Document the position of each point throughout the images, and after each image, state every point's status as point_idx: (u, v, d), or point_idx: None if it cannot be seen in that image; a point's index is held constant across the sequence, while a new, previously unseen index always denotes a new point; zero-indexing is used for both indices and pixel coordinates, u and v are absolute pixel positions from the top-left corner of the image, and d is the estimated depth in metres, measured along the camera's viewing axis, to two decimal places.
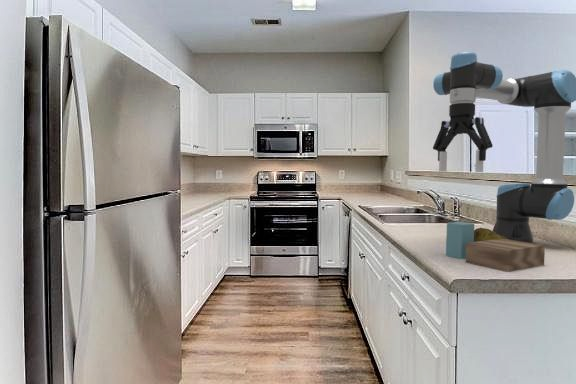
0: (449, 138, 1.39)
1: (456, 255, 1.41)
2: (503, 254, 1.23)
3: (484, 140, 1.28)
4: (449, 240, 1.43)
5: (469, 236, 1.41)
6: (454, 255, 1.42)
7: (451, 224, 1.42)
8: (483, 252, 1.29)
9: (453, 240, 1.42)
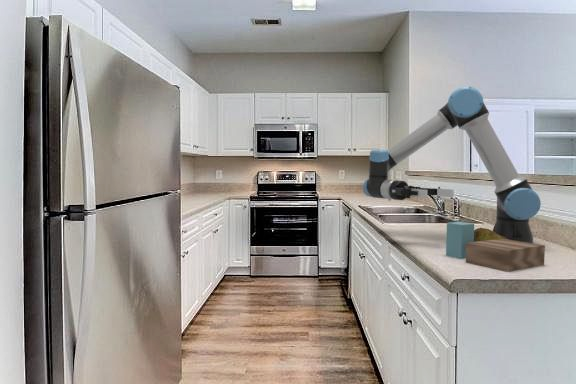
0: None
1: (456, 255, 1.41)
2: (503, 254, 1.23)
3: (401, 195, 1.53)
4: (449, 240, 1.43)
5: (469, 236, 1.41)
6: (454, 255, 1.42)
7: (451, 224, 1.42)
8: (483, 252, 1.29)
9: (453, 240, 1.42)
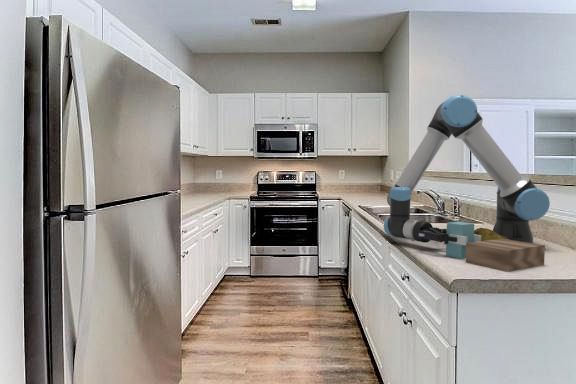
0: None
1: (456, 255, 1.41)
2: (503, 254, 1.23)
3: None
4: None
5: (469, 236, 1.41)
6: (454, 255, 1.42)
7: (451, 224, 1.43)
8: (483, 252, 1.29)
9: None
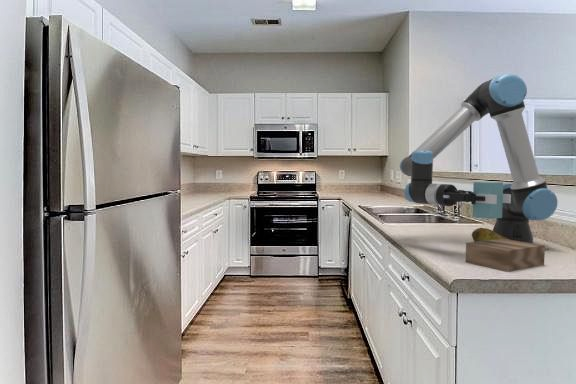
0: None
1: (484, 215, 1.33)
2: (503, 254, 1.23)
3: (462, 201, 1.36)
4: None
5: (498, 195, 1.33)
6: (482, 216, 1.34)
7: (478, 183, 1.35)
8: (483, 252, 1.29)
9: None
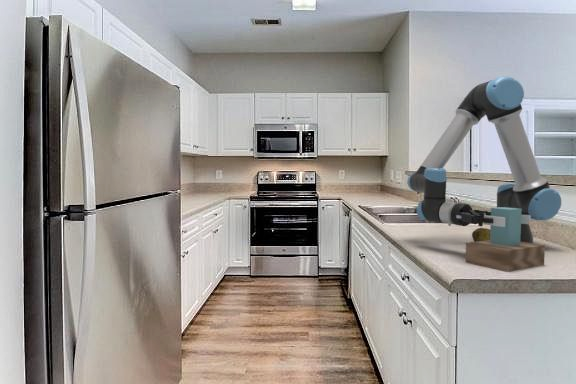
0: None
1: (502, 243, 1.30)
2: (503, 254, 1.23)
3: (471, 222, 1.33)
4: (494, 227, 1.32)
5: (516, 222, 1.30)
6: (500, 243, 1.31)
7: (496, 209, 1.32)
8: (483, 252, 1.29)
9: (498, 226, 1.31)
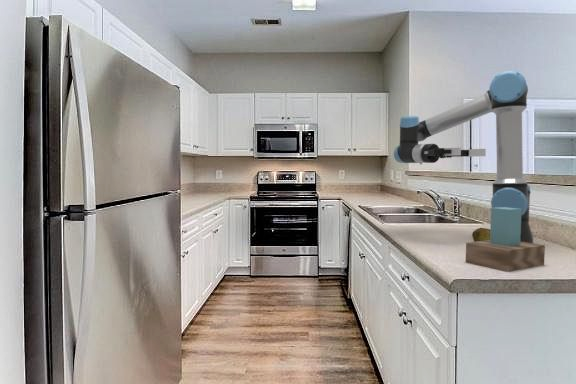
0: None
1: (502, 243, 1.30)
2: (503, 254, 1.23)
3: (434, 155, 1.58)
4: (494, 227, 1.32)
5: (516, 222, 1.30)
6: (500, 243, 1.31)
7: (496, 209, 1.32)
8: (483, 252, 1.29)
9: (498, 226, 1.31)
